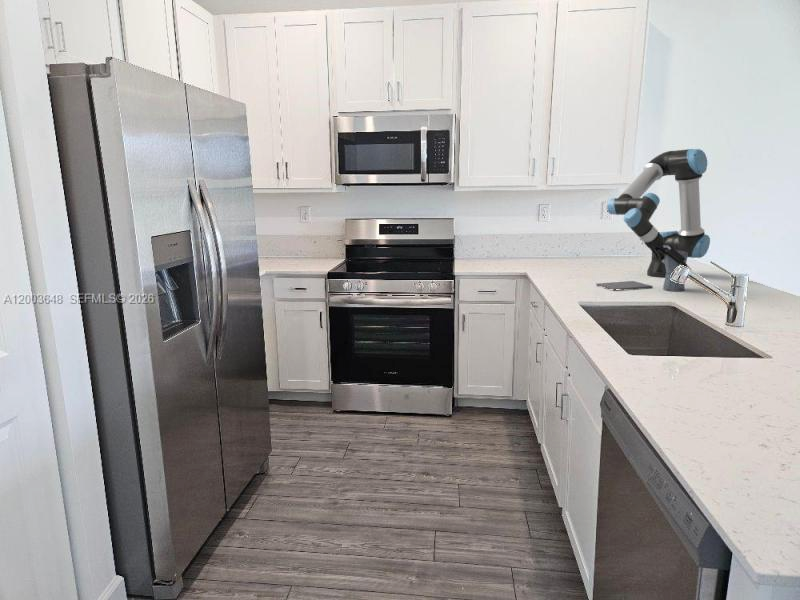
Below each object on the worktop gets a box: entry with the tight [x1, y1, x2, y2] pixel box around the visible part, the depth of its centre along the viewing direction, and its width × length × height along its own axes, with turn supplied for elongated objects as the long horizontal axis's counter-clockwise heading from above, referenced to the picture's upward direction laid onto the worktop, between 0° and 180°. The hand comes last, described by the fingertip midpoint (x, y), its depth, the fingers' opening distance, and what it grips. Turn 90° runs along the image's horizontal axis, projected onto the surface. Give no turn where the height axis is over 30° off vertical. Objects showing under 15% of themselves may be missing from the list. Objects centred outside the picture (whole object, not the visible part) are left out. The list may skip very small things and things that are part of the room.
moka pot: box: [662, 247, 689, 292], centre depth 239 cm, size 10×15×20 cm, turn 158°
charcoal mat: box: [595, 280, 653, 290], centre depth 252 cm, size 20×15×1 cm
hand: (680, 269), depth 239 cm, fingers closed on moka pot, 10 cm apart
